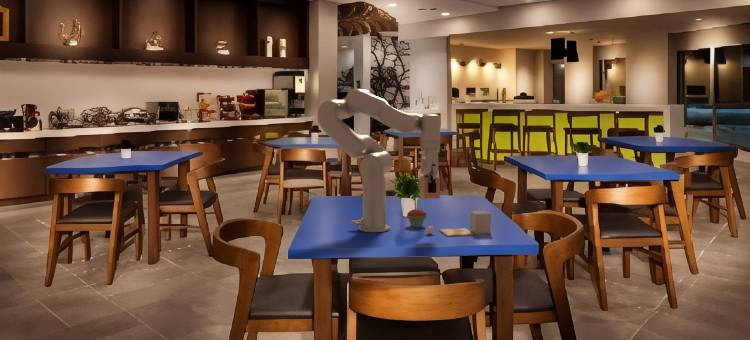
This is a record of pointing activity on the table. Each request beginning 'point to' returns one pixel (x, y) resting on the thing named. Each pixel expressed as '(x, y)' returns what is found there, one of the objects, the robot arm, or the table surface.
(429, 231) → the cream marble
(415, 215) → the cupcake
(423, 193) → the peach colored cube
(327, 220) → the table surface
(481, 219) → the beige block
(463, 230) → the birch board
